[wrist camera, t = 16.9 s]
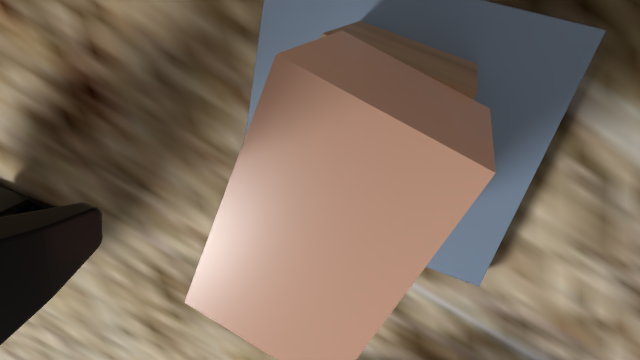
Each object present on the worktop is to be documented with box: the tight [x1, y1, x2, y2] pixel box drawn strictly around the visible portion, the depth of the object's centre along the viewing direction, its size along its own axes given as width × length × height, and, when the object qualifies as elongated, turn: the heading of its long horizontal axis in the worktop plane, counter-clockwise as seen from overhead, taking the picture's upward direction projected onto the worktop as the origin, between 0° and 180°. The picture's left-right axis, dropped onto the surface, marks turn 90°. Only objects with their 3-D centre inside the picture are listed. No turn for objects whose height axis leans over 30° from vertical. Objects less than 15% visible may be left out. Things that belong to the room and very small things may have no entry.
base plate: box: [246, 0, 606, 286], centre depth 20 cm, size 12×13×1 cm
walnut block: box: [321, 21, 478, 100], centre depth 17 cm, size 8×5×5 cm, turn 163°
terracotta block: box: [185, 31, 496, 360], centre depth 13 cm, size 8×5×5 cm, turn 156°
